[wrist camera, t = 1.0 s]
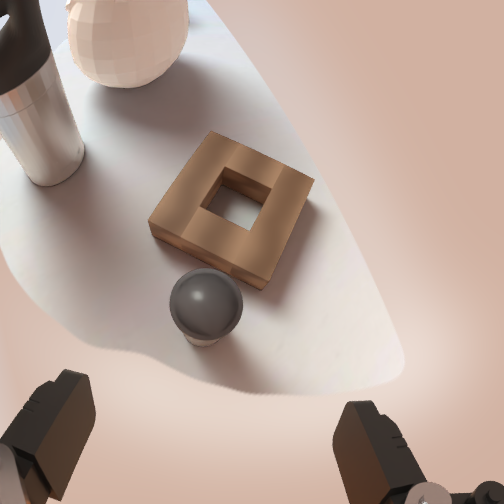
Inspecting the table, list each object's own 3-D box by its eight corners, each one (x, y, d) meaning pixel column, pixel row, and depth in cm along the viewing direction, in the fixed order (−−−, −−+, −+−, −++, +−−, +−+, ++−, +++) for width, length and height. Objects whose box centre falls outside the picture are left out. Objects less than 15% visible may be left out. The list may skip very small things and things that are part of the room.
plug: (171, 335, 33) (156, 318, 21) (192, 295, 35) (190, 256, 23) (213, 357, 33) (223, 352, 21) (233, 316, 35) (254, 288, 23)
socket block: (152, 235, 36) (147, 220, 32) (209, 150, 41) (211, 130, 38) (261, 290, 36) (269, 281, 32) (304, 195, 41) (314, 179, 38)
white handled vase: (83, 56, 45) (65, -57, 22) (178, 37, 50) (186, -77, 27) (77, 121, 40) (38, -23, 17) (196, 97, 45) (210, -53, 21)
